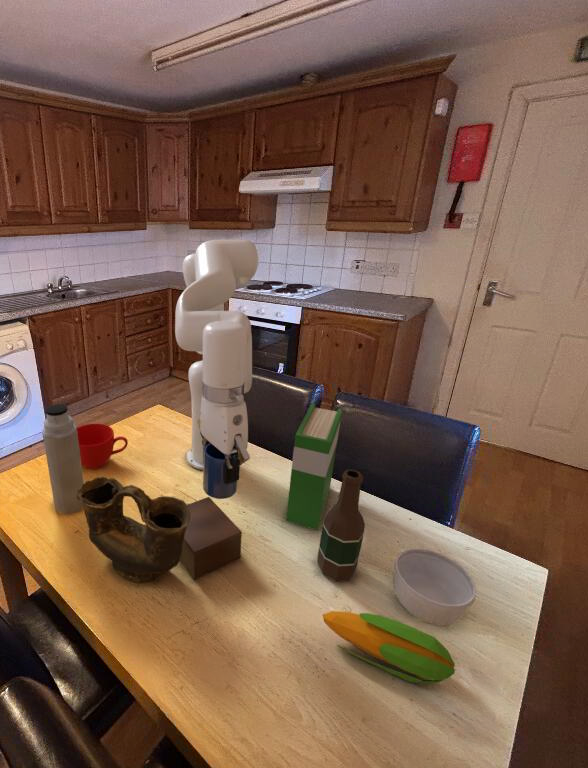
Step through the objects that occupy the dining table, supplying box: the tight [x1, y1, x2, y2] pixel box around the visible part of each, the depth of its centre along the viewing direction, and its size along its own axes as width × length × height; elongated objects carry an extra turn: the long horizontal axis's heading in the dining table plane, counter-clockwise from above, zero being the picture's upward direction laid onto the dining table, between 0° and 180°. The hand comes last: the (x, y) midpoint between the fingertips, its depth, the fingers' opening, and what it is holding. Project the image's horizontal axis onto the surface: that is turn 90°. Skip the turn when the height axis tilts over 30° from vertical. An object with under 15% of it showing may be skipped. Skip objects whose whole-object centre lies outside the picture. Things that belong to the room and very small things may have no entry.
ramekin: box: [393, 547, 477, 626], centre depth 79 cm, size 13×13×7 cm
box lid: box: [184, 496, 243, 555], centre depth 90 cm, size 13×12×1 cm
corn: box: [322, 610, 456, 685], centre depth 69 cm, size 7×8×20 cm
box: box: [180, 535, 243, 581], centre depth 92 cm, size 13×12×7 cm
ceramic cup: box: [77, 423, 129, 470], centre depth 123 cm, size 13×17×10 cm
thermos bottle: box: [41, 403, 85, 515], centre depth 102 cm, size 8×8×28 cm
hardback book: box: [285, 403, 343, 531], centre depth 102 cm, size 18×7×24 cm, turn 152°
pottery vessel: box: [77, 476, 191, 584], centre depth 86 cm, size 25×11×20 cm, turn 64°
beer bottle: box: [316, 469, 366, 582], centre depth 83 cm, size 8×8×24 cm
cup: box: [202, 443, 238, 500], centre depth 82 cm, size 7×7×9 cm
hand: (220, 471), depth 82 cm, fingers closed on cup, 6 cm apart
